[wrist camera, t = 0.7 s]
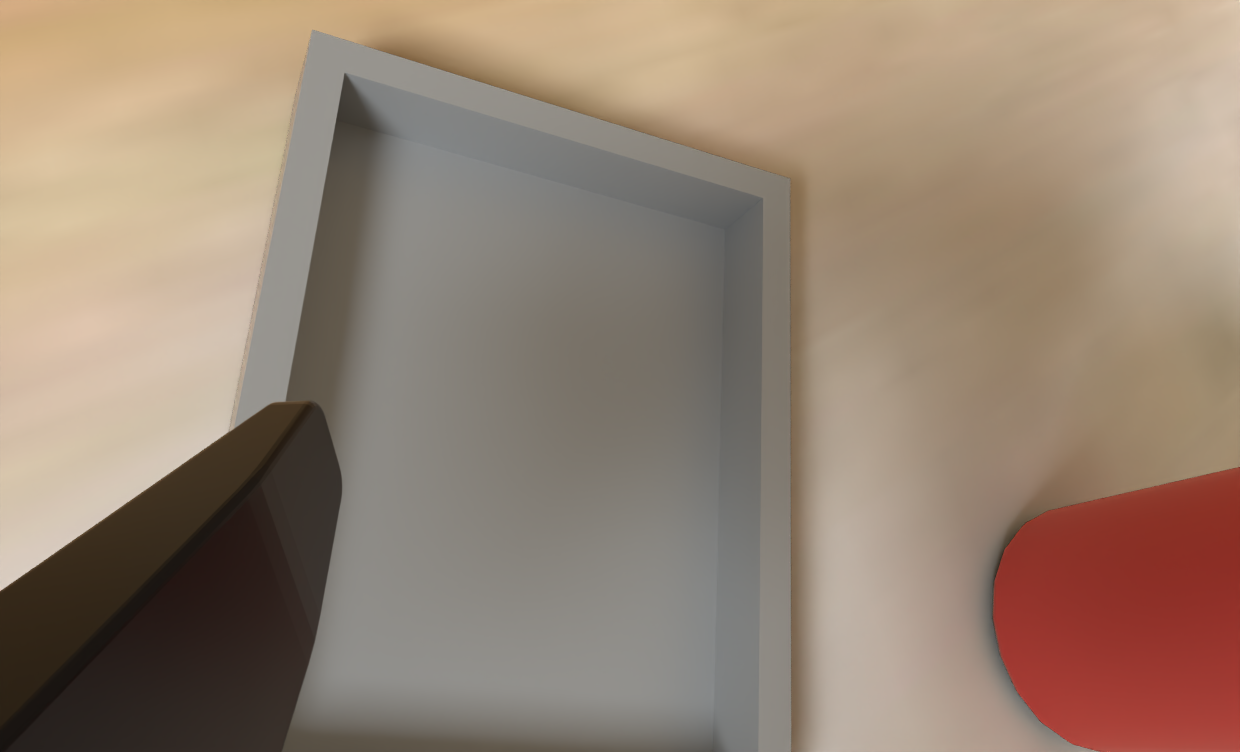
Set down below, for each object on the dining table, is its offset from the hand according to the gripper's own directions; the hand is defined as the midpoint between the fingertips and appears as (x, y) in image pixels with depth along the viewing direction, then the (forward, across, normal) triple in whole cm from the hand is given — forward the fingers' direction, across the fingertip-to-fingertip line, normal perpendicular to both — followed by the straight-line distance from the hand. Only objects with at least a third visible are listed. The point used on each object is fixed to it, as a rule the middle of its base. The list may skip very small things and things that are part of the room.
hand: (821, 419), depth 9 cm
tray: (+11, +5, +9) cm, 15 cm away
